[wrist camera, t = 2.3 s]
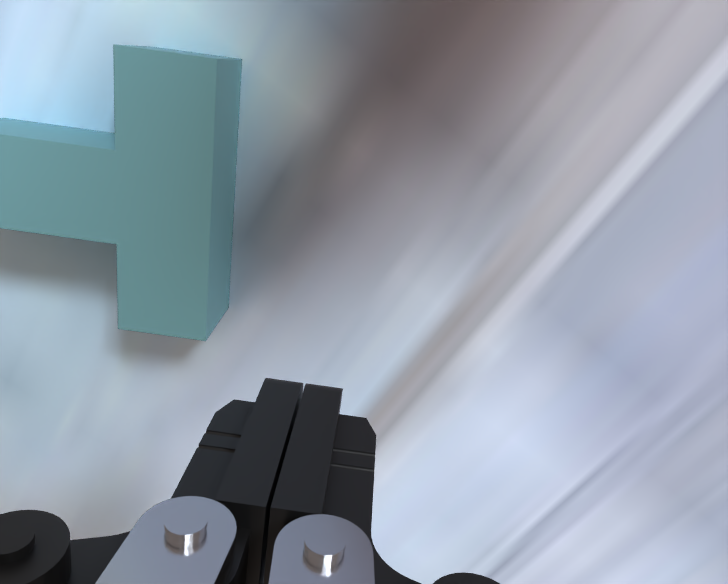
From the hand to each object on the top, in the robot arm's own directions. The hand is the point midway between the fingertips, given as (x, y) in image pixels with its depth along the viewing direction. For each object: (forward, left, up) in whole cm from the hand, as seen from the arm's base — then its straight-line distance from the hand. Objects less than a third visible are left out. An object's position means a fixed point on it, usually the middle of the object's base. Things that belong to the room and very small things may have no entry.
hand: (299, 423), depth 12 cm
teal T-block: (+11, 0, -18) cm, 22 cm away
